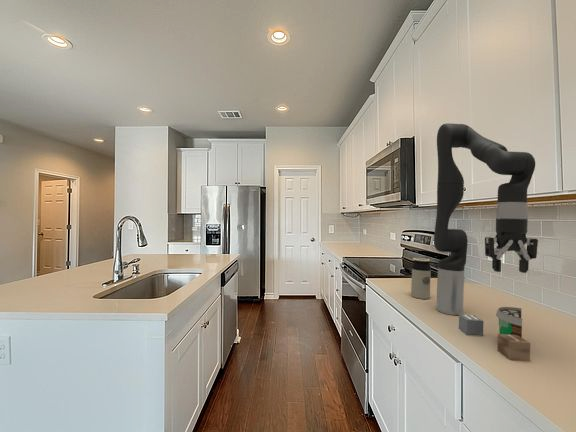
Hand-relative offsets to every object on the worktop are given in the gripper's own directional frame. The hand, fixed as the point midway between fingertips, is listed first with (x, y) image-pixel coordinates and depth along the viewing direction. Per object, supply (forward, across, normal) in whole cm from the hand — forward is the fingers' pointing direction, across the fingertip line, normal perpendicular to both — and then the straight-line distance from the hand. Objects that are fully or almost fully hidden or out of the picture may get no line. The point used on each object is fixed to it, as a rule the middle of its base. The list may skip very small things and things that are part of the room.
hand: (509, 271), depth 84 cm
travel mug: (+22, +8, -46) cm, 52 cm away
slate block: (+22, +7, -7) cm, 24 cm away
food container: (+22, 0, 0) cm, 22 cm away
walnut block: (+22, +4, +8) cm, 24 cm away
